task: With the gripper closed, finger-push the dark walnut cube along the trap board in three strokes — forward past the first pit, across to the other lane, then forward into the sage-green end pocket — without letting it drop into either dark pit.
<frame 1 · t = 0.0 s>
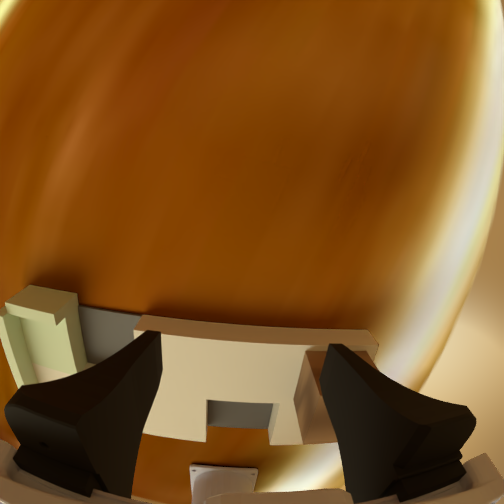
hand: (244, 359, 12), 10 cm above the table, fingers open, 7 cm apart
walnut block: (329, 376, 22), point 2 cm above the table, touching trap board
trap board: (185, 378, 24), on the table
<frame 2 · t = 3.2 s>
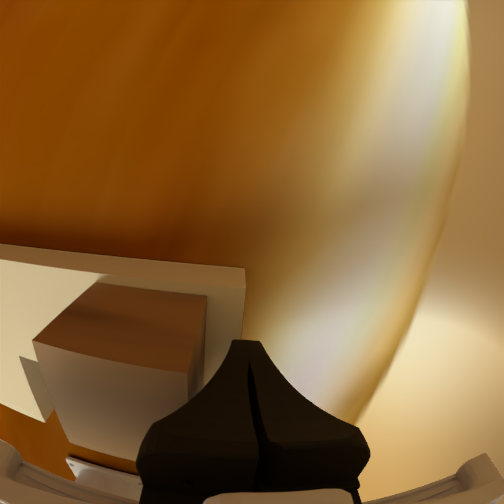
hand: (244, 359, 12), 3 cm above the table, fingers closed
walnut block: (150, 340, 13), point 3 cm above the table, touching gripper
trap board: (17, 329, 15), on the table
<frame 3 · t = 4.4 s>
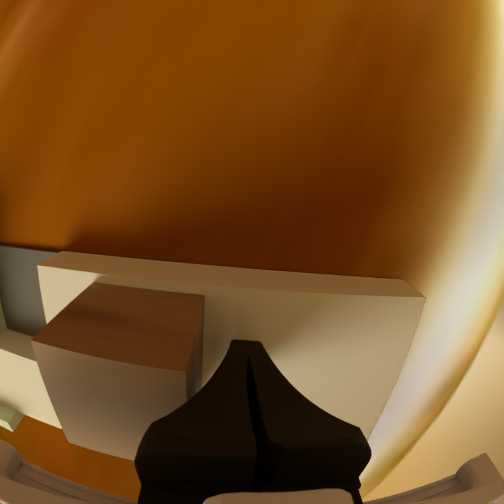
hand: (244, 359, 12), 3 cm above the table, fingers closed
walnut block: (148, 339, 13), point 3 cm above the table, touching gripper
trap board: (126, 355, 16), on the table
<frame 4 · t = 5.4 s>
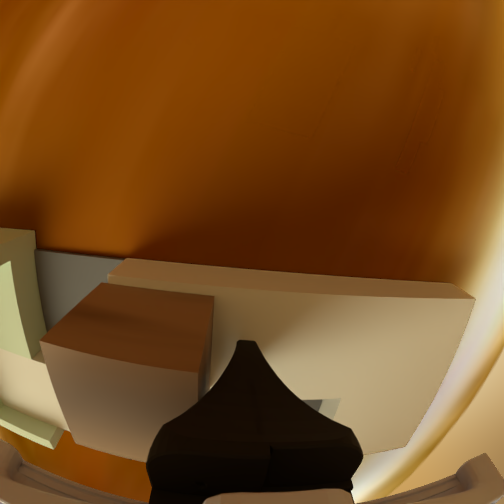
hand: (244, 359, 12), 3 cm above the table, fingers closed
walnut block: (156, 340, 13), point 3 cm above the table, touching gripper, trap board
trap board: (192, 364, 16), on the table
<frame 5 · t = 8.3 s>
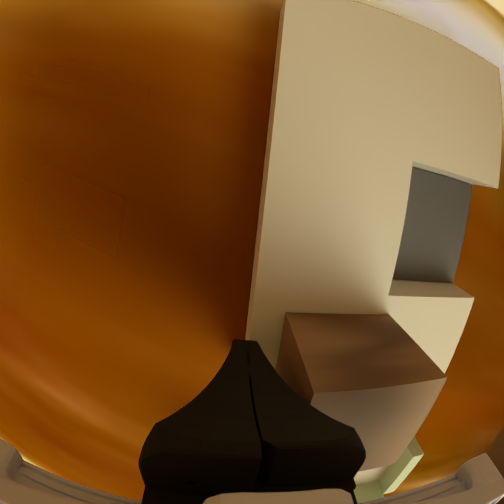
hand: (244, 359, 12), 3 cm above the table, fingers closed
walnut block: (329, 360, 13), point 3 cm above the table, touching gripper, trap board
trap board: (359, 311, 15), on the table
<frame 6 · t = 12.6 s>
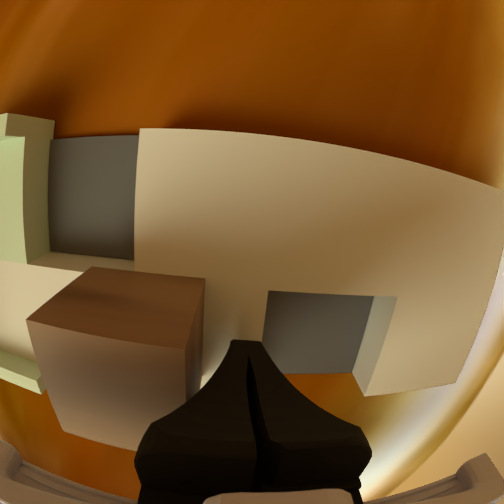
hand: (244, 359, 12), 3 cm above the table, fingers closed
walnut block: (147, 325, 12), point 2 cm above the table, touching gripper, trap board
trap board: (221, 266, 14), on the table
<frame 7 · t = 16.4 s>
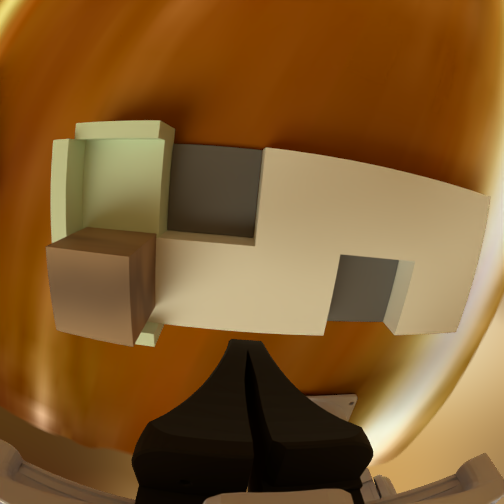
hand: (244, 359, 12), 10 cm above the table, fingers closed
walnut block: (120, 267, 19), point 2 cm above the table, touching trap board
trap board: (302, 241, 21), on the table
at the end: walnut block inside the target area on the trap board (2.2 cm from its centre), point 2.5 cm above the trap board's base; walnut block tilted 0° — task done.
